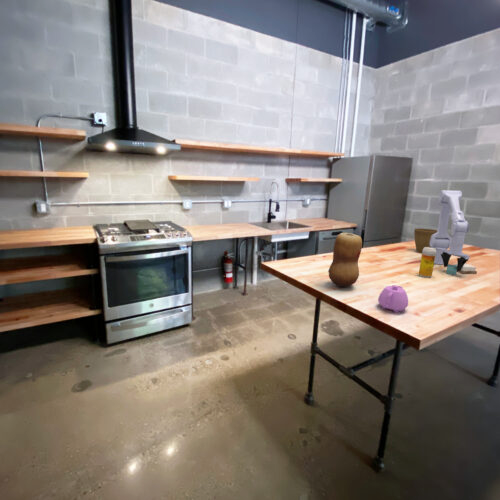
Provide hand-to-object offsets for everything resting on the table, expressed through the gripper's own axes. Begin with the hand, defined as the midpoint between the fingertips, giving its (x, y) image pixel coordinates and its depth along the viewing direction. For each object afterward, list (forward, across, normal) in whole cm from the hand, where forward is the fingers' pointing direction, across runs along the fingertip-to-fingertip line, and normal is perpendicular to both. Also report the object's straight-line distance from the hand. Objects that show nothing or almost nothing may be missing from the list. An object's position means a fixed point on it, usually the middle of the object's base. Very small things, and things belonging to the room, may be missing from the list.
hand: (452, 268), depth 161 cm
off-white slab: (+1, -1, +11) cm, 11 cm away
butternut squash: (+3, +1, -70) cm, 70 cm away
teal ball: (+3, 0, 0) cm, 3 cm away
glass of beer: (+3, -1, -18) cm, 18 cm away
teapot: (+3, +27, -65) cm, 70 cm away
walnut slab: (+3, -1, +11) cm, 11 cm away
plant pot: (+3, -42, +27) cm, 50 cm away
